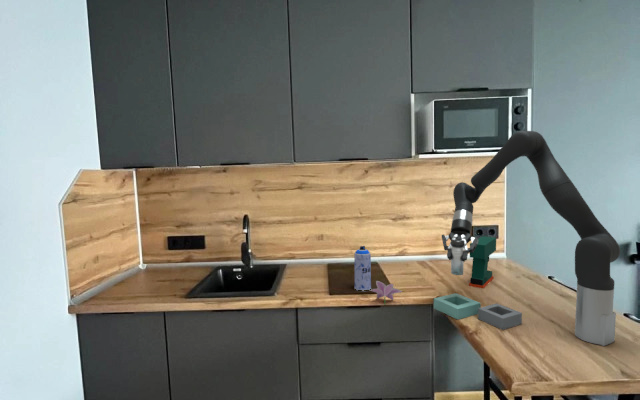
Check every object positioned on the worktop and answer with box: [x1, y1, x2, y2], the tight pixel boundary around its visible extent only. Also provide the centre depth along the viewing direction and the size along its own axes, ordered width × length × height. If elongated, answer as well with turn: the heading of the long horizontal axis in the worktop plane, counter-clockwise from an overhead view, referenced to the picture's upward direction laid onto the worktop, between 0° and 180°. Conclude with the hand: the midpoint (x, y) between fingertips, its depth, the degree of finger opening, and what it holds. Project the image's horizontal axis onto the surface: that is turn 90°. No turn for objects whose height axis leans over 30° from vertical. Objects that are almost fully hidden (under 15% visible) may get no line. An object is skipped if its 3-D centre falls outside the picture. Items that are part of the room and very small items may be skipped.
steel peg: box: [450, 239, 465, 276], centre depth 133 cm, size 5×5×13 cm
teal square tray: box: [433, 292, 482, 320], centre depth 134 cm, size 12×12×4 cm
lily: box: [369, 280, 403, 304], centre depth 144 cm, size 12×12×10 cm
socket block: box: [477, 302, 523, 331], centre depth 124 cm, size 10×10×4 cm
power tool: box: [468, 235, 497, 289], centre depth 172 cm, size 32×7×20 cm, turn 141°
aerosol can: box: [353, 245, 372, 292], centre depth 161 cm, size 8×8×20 cm
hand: (456, 259), depth 131 cm, fingers closed on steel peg, 4 cm apart
